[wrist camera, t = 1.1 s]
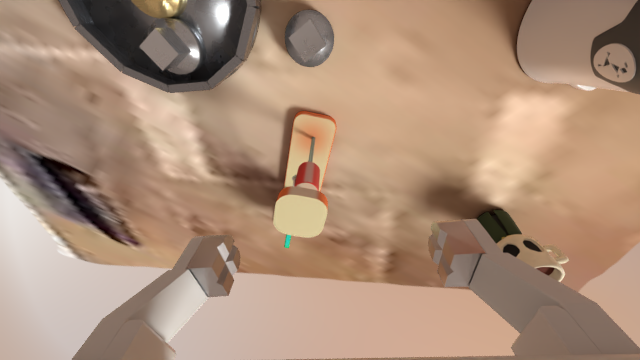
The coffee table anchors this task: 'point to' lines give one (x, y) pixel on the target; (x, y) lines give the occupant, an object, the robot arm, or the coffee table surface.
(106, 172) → the coffee table surface
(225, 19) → the carrier
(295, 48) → the gear
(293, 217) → the crank mechanism
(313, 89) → the coffee table surface
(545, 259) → the character mug
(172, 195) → the coffee table surface
